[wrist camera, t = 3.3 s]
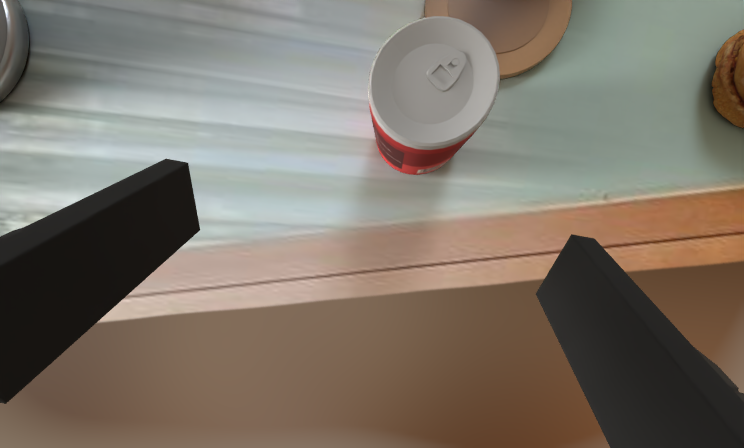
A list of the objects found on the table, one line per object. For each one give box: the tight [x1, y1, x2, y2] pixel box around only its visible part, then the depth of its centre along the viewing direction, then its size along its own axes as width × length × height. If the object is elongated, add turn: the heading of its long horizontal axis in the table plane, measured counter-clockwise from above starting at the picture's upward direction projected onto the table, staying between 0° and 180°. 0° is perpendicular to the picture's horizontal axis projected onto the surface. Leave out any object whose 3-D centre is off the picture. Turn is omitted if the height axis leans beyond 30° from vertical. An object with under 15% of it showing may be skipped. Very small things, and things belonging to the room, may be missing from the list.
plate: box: [425, 0, 572, 79], centre depth 28 cm, size 13×13×1 cm
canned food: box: [368, 16, 500, 175], centre depth 23 cm, size 8×8×11 cm
